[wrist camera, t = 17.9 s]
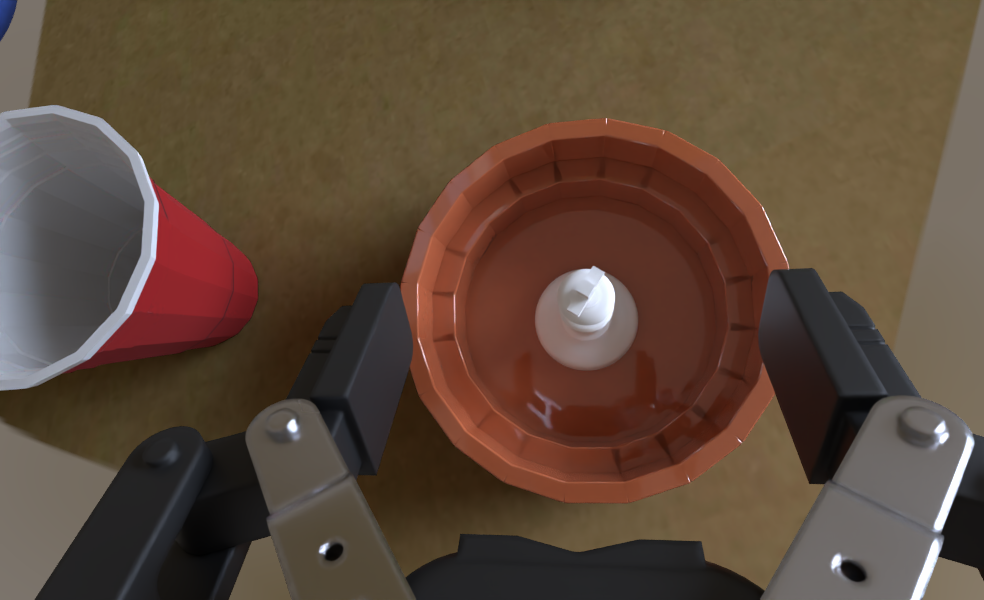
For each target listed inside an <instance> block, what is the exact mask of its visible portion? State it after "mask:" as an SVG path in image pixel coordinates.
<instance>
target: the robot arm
mask: <svg viewBox="0 0 984 600" xmlns="http://www.w3.org/2000/svg"><path fill="white" fill-rule="evenodd" d="M758 342H759V350H760V354H761V357H762V360H763V363H764V365H765V368H766V371H767V373H768V376H769V378H770V381H771V384H772V386H773V389H774V392H775V394H776V397H777V400H778V402H779V405H780V407H781V410H782V413H783V415H784V418H785V421H786V423H787V426H788V429H789V431H790V434H791V436H792V439H793V442H794V444H795V447H796V450H797V452H798V455H799V458H800V460H801V463H802V466H803V468H804V471H805V473H806V476H807V479H808V481H809V484H825V485H824V487H823V488H822V490H821V492H820V494H819V495H818V497H817V499H816V501H815V503H814V504H813V506H812V508H811V510H810V511H809V513H808V515H807V517H806V519H805V520H804V522H803V524H802V526H801V528H800V529H799V531H798V533H797V535H796V536H795V538H794V540H793V542H792V544H791V545H790V547H789V549H788V551H787V552H786V554H785V556H784V558H783V560H782V561H781V563H780V565H779V567H778V568H777V570H776V572H775V574H774V576H773V577H772V579H771V581H770V583H769V584H768V586H767V588H766V590H765V591H764V590H763V589H762V588H760V587H759V586H757V585H756V584H754V583H753V582H751V581H750V580H748V579H746V578H745V577H743V576H741V575H739V574H737V573H735V572H733V571H731V570H729V569H727V568H724V567H722V566H719V565H717V564H714V563H710V562H707V561H705V558H704V553H703V548H702V542H701V541H671V540H635V541H630V542H626V543H621V544H616V545H612V546H607V547H603V548H598V549H593V550H589V551H584V552H573V551H569V550H565V549H562V548H558V547H555V546H551V545H548V544H544V543H541V542H537V541H534V540H530V539H527V538H523V537H520V536H509V535H477V534H460V540H459V546H458V552H456V553H452V554H449V555H446V556H443V557H440V558H437V559H435V560H433V561H431V562H429V563H427V564H425V565H423V566H421V567H420V568H418V569H417V570H415V571H414V572H412V573H411V574H410V575H408V576H407V577H406V578H405V576H404V574H403V572H402V570H401V568H400V566H399V564H398V562H397V560H396V558H395V556H394V554H393V552H392V550H391V549H390V547H389V545H388V543H387V541H386V539H385V537H384V535H383V533H382V531H381V529H380V527H379V525H378V523H377V521H376V519H375V517H374V515H373V513H372V511H371V509H370V507H369V505H368V503H367V501H366V499H365V497H364V495H363V493H362V491H361V489H360V487H359V485H358V484H357V482H356V480H357V477H358V475H377V471H378V468H379V465H380V462H381V458H382V455H383V452H384V449H385V445H386V442H387V439H388V436H389V432H390V429H391V426H392V423H393V419H394V416H395V413H396V410H397V406H398V403H399V400H400V397H401V393H402V390H403V387H404V384H405V380H406V377H407V374H408V371H409V367H410V364H411V361H412V356H413V337H412V332H411V328H410V324H409V321H408V317H407V313H406V309H405V305H404V302H403V298H402V294H401V290H400V287H399V285H398V284H397V283H370V284H363V285H362V286H361V288H360V290H359V292H358V295H357V297H356V299H355V301H354V303H353V305H352V306H342V307H341V308H340V309H338V310H337V311H336V312H335V313H334V314H333V315H332V316H331V317H330V318H329V319H328V320H326V322H325V324H324V326H323V328H322V330H321V332H320V334H319V336H318V340H316V342H315V344H314V346H313V348H312V350H311V353H309V355H308V357H307V359H306V361H305V363H304V365H303V367H302V369H301V371H300V373H299V375H298V377H297V379H296V381H295V383H294V385H293V386H292V388H291V390H290V392H289V394H288V396H287V398H286V400H283V401H280V402H277V403H275V404H273V405H271V406H269V407H267V408H266V409H264V410H263V411H262V412H260V413H259V414H258V415H257V416H256V417H255V418H254V419H253V420H252V422H251V423H250V425H249V427H248V429H247V431H245V432H242V433H238V434H235V435H231V436H227V437H223V438H219V439H215V440H212V441H208V442H205V441H204V439H203V438H202V436H201V435H200V433H199V432H198V431H197V430H196V429H193V428H191V427H184V426H180V427H173V428H169V429H166V430H163V431H160V432H158V433H156V434H154V435H152V436H151V437H149V438H148V439H146V440H145V441H143V442H142V443H141V444H140V445H139V446H137V447H136V448H135V449H134V451H133V452H132V453H131V454H130V456H129V457H128V458H127V460H126V461H125V463H124V464H123V466H122V467H121V469H120V471H119V472H118V474H117V475H116V477H115V478H114V480H113V481H112V483H111V484H110V486H109V487H108V489H107V490H106V492H105V494H104V495H103V497H102V498H101V499H100V501H99V502H98V504H97V506H96V507H95V509H94V510H93V512H92V513H91V515H90V516H89V518H88V520H87V521H86V522H85V524H84V526H83V527H82V528H81V530H80V531H79V533H78V535H77V536H76V537H75V539H74V541H73V542H72V544H71V545H70V547H69V548H68V550H67V551H66V553H65V554H64V556H63V557H62V559H61V560H60V562H59V563H58V565H57V567H56V568H55V569H54V571H53V573H52V574H51V576H50V577H49V579H48V580H47V582H46V583H45V585H44V586H43V588H42V589H41V591H40V592H39V594H38V595H37V597H36V598H35V600H229V597H230V595H231V592H232V590H233V587H234V584H235V582H236V580H237V577H238V574H239V572H240V570H241V567H242V564H243V562H244V559H245V557H246V554H247V552H248V549H249V546H250V544H251V542H252V541H254V540H258V539H261V538H265V537H268V536H271V537H272V540H273V543H274V546H275V550H276V553H277V556H278V559H279V562H280V565H281V568H282V571H283V574H284V577H285V581H286V584H287V586H288V590H289V593H290V596H291V599H292V600H922V599H923V596H924V593H925V591H926V588H927V585H928V582H929V580H930V577H931V574H932V571H933V569H934V566H935V563H936V561H937V558H938V557H942V558H945V559H948V560H952V561H955V562H959V563H962V564H965V565H969V566H972V567H975V568H978V570H979V572H980V574H981V576H982V578H983V580H984V437H982V436H978V435H975V434H972V433H971V431H970V429H969V427H968V426H967V425H966V424H965V422H964V421H963V420H962V419H960V418H959V417H958V416H957V415H956V414H955V413H953V412H952V411H950V410H949V409H947V408H945V407H943V406H942V405H940V404H937V403H934V402H933V401H930V400H927V399H924V398H921V396H920V395H919V393H918V391H917V390H916V388H915V387H914V385H913V384H912V382H911V381H910V380H909V377H908V376H907V374H906V373H905V371H904V370H903V368H902V367H901V365H900V363H899V362H898V360H897V359H896V357H895V356H894V354H893V353H892V351H891V349H890V348H889V346H888V345H887V344H885V340H884V339H883V337H882V335H881V334H880V332H879V331H878V329H875V325H874V323H873V321H872V320H871V318H870V317H869V315H868V314H867V312H866V311H865V309H864V307H862V306H861V305H860V304H858V303H857V302H855V301H854V300H853V299H851V298H850V297H849V296H847V295H846V294H845V293H843V292H828V291H827V289H826V287H825V286H824V284H823V282H822V280H821V279H820V277H819V275H818V274H817V272H816V271H815V270H814V269H813V268H806V269H778V270H772V272H771V273H770V276H769V279H768V284H767V289H766V294H765V299H764V304H763V309H762V314H761V319H760V324H759V330H758Z"/></svg>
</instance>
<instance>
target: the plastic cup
mask: <svg viewBox="0 0 984 600" xmlns="http://www.w3.org/2000/svg"><path fill="white" fill-rule="evenodd" d="M257 300H258V279H257V276H256V274H255V271H254V269H253V267H252V264H251V262H250V261H249V260H248V259H247V257H246V256H245V255H244V254H243V253H242V252H241V251H240V250H239V249H238V248H237V247H235V246H234V245H233V244H232V243H231V242H229V241H228V240H227V239H225V238H224V237H222V236H221V235H219V234H218V233H217V232H215V231H214V230H213V229H212V228H211V227H210V226H209V225H208V224H207V223H206V222H204V221H203V220H202V219H201V218H199V217H198V216H197V215H195V214H194V213H193V212H191V211H190V210H189V209H187V208H186V207H185V206H184V205H182V204H181V203H180V202H178V201H177V200H176V199H174V198H173V197H172V196H170V195H169V194H168V193H167V192H165V191H164V190H163V189H161V188H160V187H159V186H157V185H156V184H155V182H154V181H153V180H152V179H151V178H150V177H149V176H148V173H147V170H146V168H145V165H144V162H143V159H142V157H141V156H140V155H139V153H138V152H137V151H136V150H135V149H134V148H133V147H132V146H131V145H130V144H129V143H128V142H127V141H126V140H125V139H124V138H122V137H121V136H120V135H119V134H118V133H117V132H116V131H115V130H114V129H113V128H112V127H111V126H110V125H109V124H108V123H106V122H105V121H104V120H103V119H102V118H99V117H96V116H92V115H89V114H86V113H82V112H79V111H75V110H72V109H68V108H65V107H62V106H58V105H51V106H43V107H35V108H28V109H20V110H13V111H5V112H3V113H1V114H0V390H12V389H25V388H30V387H34V386H38V385H40V384H42V383H44V382H46V381H48V380H50V379H52V378H54V377H56V376H58V375H59V374H63V373H72V372H74V371H76V370H79V369H88V368H95V367H97V366H99V365H102V364H109V363H116V362H122V361H129V360H136V359H143V358H149V357H156V356H163V355H170V354H176V353H182V352H184V351H186V350H190V349H196V348H203V347H210V346H215V345H216V344H218V343H222V342H223V341H225V340H227V339H229V338H231V337H233V336H235V335H236V334H238V333H239V332H240V331H241V329H242V328H243V327H244V326H245V325H246V323H247V322H248V321H249V320H250V319H251V317H252V314H253V311H254V308H255V306H256V303H257Z"/></svg>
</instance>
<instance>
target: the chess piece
mask: <svg viewBox="0 0 984 600" xmlns="http://www.w3.org/2000/svg"><path fill="white" fill-rule="evenodd" d="M535 327H536V332H537V335H538V338H539V341H540V343H541V344H542V346H543V348H544V349H545V351H546V352H547V353H548V354H549V355H550V356H551V357H552V358H553V359H554V360H556V361H557V362H559V363H560V364H562V365H564V366H566V367H569V368H572V369H575V370H582V371H592V370H598V369H602V368H605V367H608V366H610V365H612V364H613V363H615V362H617V361H618V360H619V359H620V358H622V357H623V356H624V355H625V354H626V352H627V351H628V350H629V348H630V347H631V345H632V343H633V341H634V339H635V336H636V333H637V329H638V312H637V307H636V304H635V301H634V299H633V297H632V295H631V294H630V292H629V291H628V289H627V288H626V287H625V286H624V285H623V284H622V283H621V282H620V281H619V280H618V279H617V278H615V277H614V276H612V275H610V274H608V273H606V272H604V271H602V270H600V269H598V268H596V267H595V266H593V267H592V268H591V269H578V270H573V271H570V272H567V273H565V274H563V275H561V276H559V277H558V278H556V279H555V280H554V281H552V282H551V283H550V284H549V285H548V287H547V288H546V289H545V290H544V292H543V293H542V295H541V297H540V299H539V301H538V304H537V307H536V312H535Z"/></svg>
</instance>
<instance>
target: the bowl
mask: <svg viewBox="0 0 984 600" xmlns="http://www.w3.org/2000/svg"><path fill="white" fill-rule="evenodd" d="M593 266H595V267H596V268H598V269H600V270H602V271H604V272H606V273H608V274H610V275H612V276H614V277H615V278H617V279H618V280H619V281H620V282H621V283H622V284H623V285H624V286H625V287H626V288H627V289H628V291H629V292H630V294H631V295H632V297H633V299H634V301H635V304H636V307H637V312H638V329H637V333H636V336H635V339H634V341H633V343H632V345H631V347H630V348H629V350H628V351H627V352H626V354H625V355H624V356H623V357H622V358H620V359H619V360H618V361H617V362H615V363H613V364H612V365H610V366H608V367H605V368H602V369H598V370H592V371H582V370H575V369H572V368H569V367H566V366H564V365H562V364H560V363H559V362H557V361H556V360H554V359H553V358H552V357H551V356H550V355H549V354H548V353H547V352H546V351H545V349H544V348H543V346H542V344H541V343H540V341H539V338H538V335H537V332H536V327H535V312H536V307H537V304H538V301H539V299H540V297H541V295H542V293H543V292H544V290H545V289H546V288H547V287H548V285H549V284H550V283H551V282H552V281H554V280H555V279H556V278H558V277H559V276H561V275H563V274H565V273H567V272H570V271H573V270H578V269H591V268H592V267H593ZM778 269H789V265H788V263H787V259H786V257H785V254H784V252H783V250H782V248H781V246H780V243H779V241H778V239H777V237H776V235H775V233H774V230H773V228H772V226H771V224H770V222H769V220H768V217H767V215H766V213H765V211H764V209H763V207H762V206H761V204H760V203H759V202H758V200H757V199H756V198H755V197H754V196H753V195H752V194H751V193H750V192H749V191H748V190H747V189H746V188H745V187H744V186H743V184H742V183H741V182H740V181H739V180H738V179H737V178H736V177H735V176H734V175H733V174H732V173H731V172H730V171H729V170H728V168H727V167H726V166H725V165H724V164H723V163H722V162H721V161H720V160H719V159H717V158H716V157H714V156H712V155H710V154H708V153H707V152H705V151H703V150H701V149H699V148H697V147H696V146H694V145H692V144H690V143H688V142H687V141H685V140H683V139H681V138H679V137H678V136H676V135H674V134H672V133H670V132H669V131H665V130H662V129H657V128H652V127H647V126H642V125H637V124H633V123H628V122H623V121H618V120H613V119H606V118H600V119H589V120H579V121H568V122H557V123H549V124H545V125H543V126H541V127H538V128H536V129H533V130H531V131H528V132H526V133H523V134H521V135H518V136H516V137H513V138H511V139H508V140H506V141H504V142H501V143H499V144H496V145H495V146H492V147H491V148H490V149H489V150H487V151H486V152H485V153H484V154H482V155H481V156H480V157H479V158H477V159H476V160H475V161H474V162H472V163H471V164H470V165H469V166H467V167H466V168H465V169H464V170H463V171H461V172H460V173H459V174H458V175H456V176H455V177H454V178H453V179H451V180H450V182H448V184H447V185H446V187H445V188H444V190H443V191H442V193H441V194H440V196H439V197H438V198H437V200H436V201H435V203H434V204H433V206H432V207H431V209H430V210H429V212H428V213H427V215H426V216H425V218H424V219H423V220H422V222H421V223H420V225H419V226H418V230H417V231H416V235H415V238H414V241H413V244H412V248H411V251H410V254H409V257H408V261H407V264H406V267H405V270H404V274H403V277H402V280H401V284H400V290H401V294H402V298H403V302H404V305H405V309H406V313H407V317H408V321H409V324H410V328H411V332H412V337H413V356H412V361H411V364H410V367H409V368H410V371H411V374H412V377H413V380H414V384H415V387H416V390H417V393H418V395H419V396H420V399H421V401H422V402H423V403H424V405H425V406H426V408H427V409H428V410H429V412H430V413H431V415H432V416H433V417H434V419H435V420H436V422H437V423H438V424H439V426H440V427H441V429H442V430H443V431H444V433H445V434H446V436H447V437H448V438H449V440H450V441H451V443H452V444H453V445H455V447H456V448H457V449H459V450H460V451H461V452H463V453H464V454H465V455H467V456H468V457H469V458H471V459H472V460H473V461H475V462H476V463H478V464H479V465H480V466H482V467H483V468H484V469H486V470H487V471H488V472H490V473H491V474H492V475H494V476H495V477H496V478H498V479H499V480H500V481H502V482H504V483H506V484H509V485H512V486H515V487H518V488H521V489H524V490H527V491H529V492H532V493H535V494H538V495H541V496H544V497H547V498H550V499H553V500H556V501H559V502H564V503H628V502H629V503H631V502H634V501H637V500H640V499H643V498H646V497H649V496H652V495H655V494H659V493H662V492H665V491H668V490H671V489H674V488H677V487H680V486H683V485H686V484H689V483H690V482H692V481H694V480H695V479H696V478H698V477H699V476H700V475H702V474H703V473H704V472H706V471H707V470H708V469H709V468H711V467H712V466H713V465H715V464H716V463H717V462H719V461H720V460H721V459H723V458H724V457H725V456H727V455H728V454H729V453H730V452H732V451H733V450H734V449H736V448H737V447H738V446H740V445H741V444H742V442H744V441H745V439H746V438H747V436H748V435H749V433H750V432H751V430H752V429H753V427H754V426H755V424H756V423H757V421H758V419H759V418H760V416H761V415H762V413H763V412H764V410H765V409H766V407H767V406H768V404H769V403H770V401H771V400H772V398H773V397H774V395H775V392H774V389H773V386H772V384H771V381H770V378H769V376H768V373H767V371H766V368H765V365H764V363H763V360H762V357H761V354H760V350H759V342H758V330H759V324H760V319H761V314H762V309H763V304H764V299H765V294H766V289H767V284H768V279H769V276H770V273H771V272H772V270H778Z"/></svg>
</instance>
